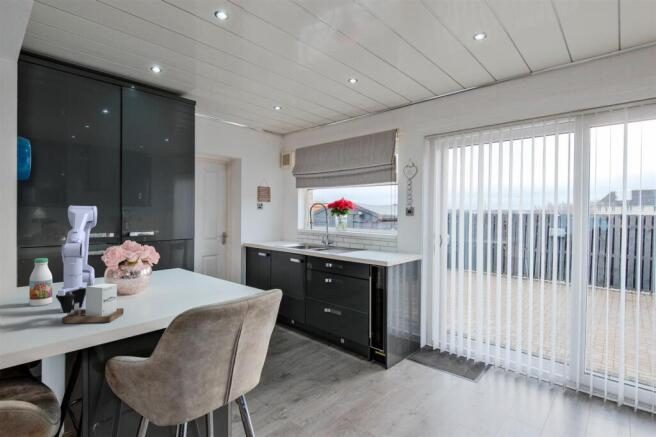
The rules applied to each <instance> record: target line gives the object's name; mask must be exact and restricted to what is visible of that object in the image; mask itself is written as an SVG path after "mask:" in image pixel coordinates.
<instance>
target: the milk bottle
mask: <svg viewBox="0 0 656 437" xmlns="http://www.w3.org/2000/svg"><path fill="white" fill-rule="evenodd" d="M33 261H34V264H33V265H34V268H33V270H32V272H31V274H30V277H29V286H28V287H29V288H28V289H29V294H28V296H29V297H28V300H29V301H28V302H29V303H28V304H29V306H30V307H38V306H39V307H40V306H45V305H50V304H52V302H53V274H52V272H51V271H50V269H49V266H48V263H49V259H48V258H47V257H40V258H34V260H33Z"/></svg>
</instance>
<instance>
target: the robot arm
mask: <svg viewBox="0 0 656 437" xmlns="http://www.w3.org/2000/svg"><path fill="white" fill-rule="evenodd" d="M67 218H68V221H69V224H70V227H72V228H71V229H70V230H68V232H67V236H66V240H65V244H62V245H61V257H62V264H63V286H62V287H61V288H60V289H57V294H56V295H55V298H56V299H57V300H58V302H59V304H60V310H59V313H63V314H67V313H71V309H72V303H79V309H86V287H88V286H93V285H95V280H96V278H95V276H96V275H95V269H94V267H92V266H91V265H89V264H88V257H89V245H90V244H89V242H90V241H89V240H90V233H91V230H92V229H93V228H94V227H96V226H97V221H98V220H97V219H98V207H97V206H96V205H92V206H90V205H69V206H68V208H67Z"/></svg>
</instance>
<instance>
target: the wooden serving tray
mask: <svg viewBox="0 0 656 437" xmlns="http://www.w3.org/2000/svg"><path fill="white" fill-rule="evenodd" d="M124 309H125V308H123V307H121V308H120V307H119V308H118V307H117V311H115V312H113V313H112V314H110V315H108V316H85V314H86V309H79V303H72V309H71V313H66V315H65V316H63V317H61V320H62V321H61V323H62V324H73V323H74V324H75V323H76V324H78V323H79V324H80V323H82V324H83V323H85V324H86V323H111V322H112V321H113V320H116V318H118V317H120V316H122V315H123V314H124V311H125V310H124Z"/></svg>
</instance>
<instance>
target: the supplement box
mask: <svg viewBox="0 0 656 437" xmlns="http://www.w3.org/2000/svg"><path fill="white" fill-rule="evenodd" d="M117 306H118V284H117V283H99V284H97V283H96V284H94V285H93V286H88V287H86V314H85V315H84V316H108V315H110V314H112V313H113V312H115V311H117V308H118V307H117Z"/></svg>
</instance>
